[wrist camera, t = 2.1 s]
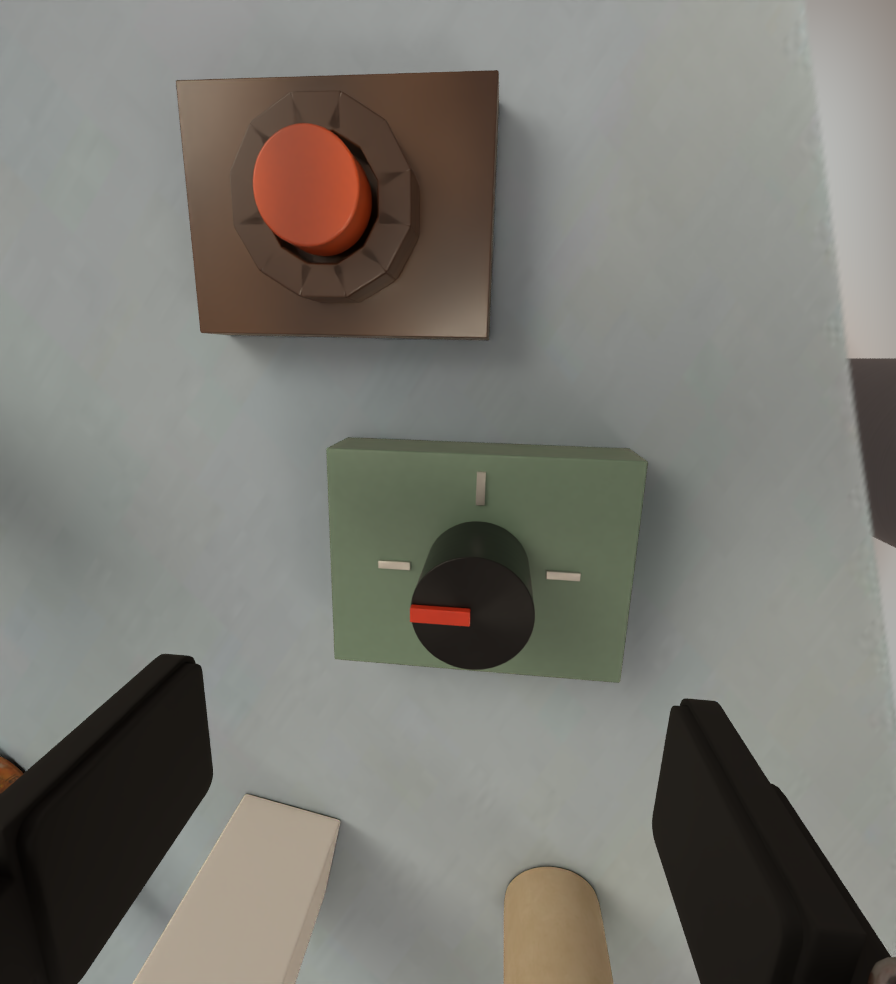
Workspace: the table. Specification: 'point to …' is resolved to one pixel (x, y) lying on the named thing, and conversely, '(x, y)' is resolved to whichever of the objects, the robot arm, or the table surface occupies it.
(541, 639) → the dial panel
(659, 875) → the table surface
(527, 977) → the candle
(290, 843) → the milk
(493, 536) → the dial
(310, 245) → the button
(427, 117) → the switch block
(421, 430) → the table surface
